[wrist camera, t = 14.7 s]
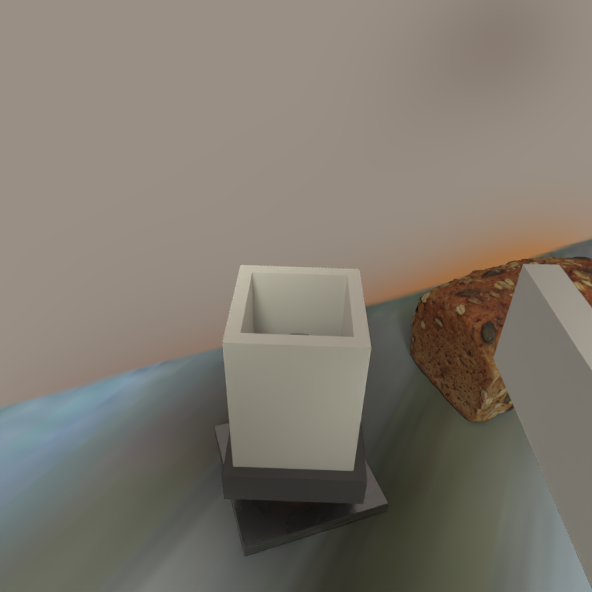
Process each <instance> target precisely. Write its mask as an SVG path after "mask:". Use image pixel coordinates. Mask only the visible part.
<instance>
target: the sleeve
mask: <svg viewBox="0 0 592 592" xmlns="http://www.w3.org/2000/svg"><path fill="white" fill-rule="evenodd" d="M293 333H303V334H308V335H289V334H293ZM222 344H223V356H224V367H225V379H226V391H227V402H228V414H229V425H230V437H231V448H232V460H233V467H260V468H286V469H313V470H340V471H353V470H354V463H355V456H356V449H357V442H358V435H359V429H360V422H361V415H362V408H363V401H364V394H365V388H366V381H367V374H368V367H369V360H370V353H371V343H370V336H369V329H368V323H367V316H366V309H365V303H364V296H363V290H362V282H361V276H360V270H359V269H344V268H314V267H282V266H254V265H241V266H240V269H239V274H238V278H237V283H236V286H235V291H234V295H233V299H232V304H231V308H230V312H229V316H228V321H227V325H226V330H225V334H224V338H223V342H222Z"/></svg>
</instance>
